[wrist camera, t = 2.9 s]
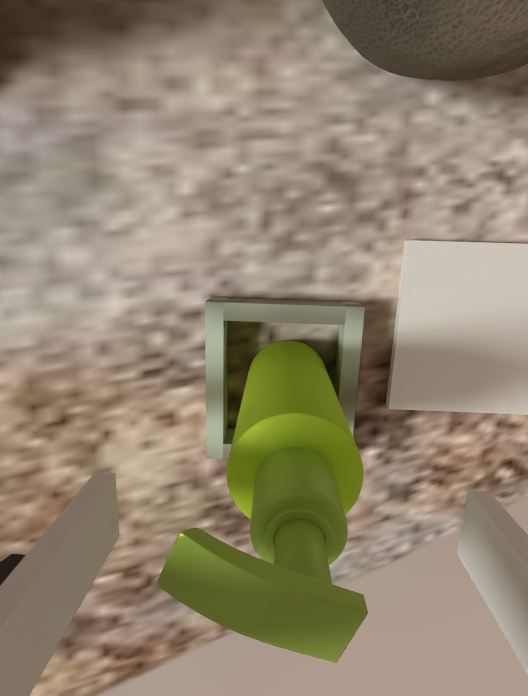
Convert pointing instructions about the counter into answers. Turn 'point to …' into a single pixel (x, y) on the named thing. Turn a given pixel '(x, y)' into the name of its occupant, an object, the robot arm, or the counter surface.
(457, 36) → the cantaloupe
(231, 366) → the counter surface
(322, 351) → the counter surface
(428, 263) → the mat
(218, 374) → the frame
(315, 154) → the counter surface
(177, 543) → the soap dispenser
